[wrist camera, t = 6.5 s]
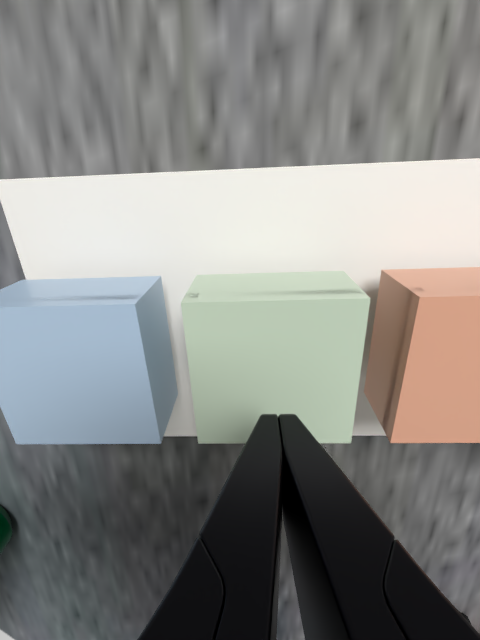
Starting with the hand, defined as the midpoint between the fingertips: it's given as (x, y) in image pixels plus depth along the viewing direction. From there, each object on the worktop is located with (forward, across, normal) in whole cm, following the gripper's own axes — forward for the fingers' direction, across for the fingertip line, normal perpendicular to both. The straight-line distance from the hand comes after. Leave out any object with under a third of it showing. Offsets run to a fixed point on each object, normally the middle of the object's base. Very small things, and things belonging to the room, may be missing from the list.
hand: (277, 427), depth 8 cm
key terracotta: (+5, -7, 0) cm, 8 cm away
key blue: (+5, +6, 0) cm, 8 cm away
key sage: (+5, 0, 0) cm, 5 cm away
